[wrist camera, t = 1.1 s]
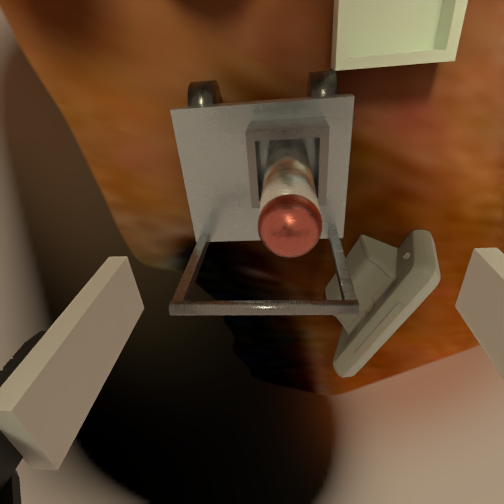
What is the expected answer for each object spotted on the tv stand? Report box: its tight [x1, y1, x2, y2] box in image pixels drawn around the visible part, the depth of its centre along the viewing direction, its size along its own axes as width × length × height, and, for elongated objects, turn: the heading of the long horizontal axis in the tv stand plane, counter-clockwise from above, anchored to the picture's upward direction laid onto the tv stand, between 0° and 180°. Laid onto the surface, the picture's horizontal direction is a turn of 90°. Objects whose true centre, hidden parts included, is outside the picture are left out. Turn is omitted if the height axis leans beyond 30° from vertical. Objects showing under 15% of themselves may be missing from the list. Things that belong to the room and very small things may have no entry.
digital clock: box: [325, 229, 440, 377], centre depth 35 cm, size 16×9×11 cm, turn 147°
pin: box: [258, 138, 322, 258], centre depth 21 cm, size 3×3×14 cm
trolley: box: [169, 70, 359, 315], centre depth 26 cm, size 15×14×17 cm
